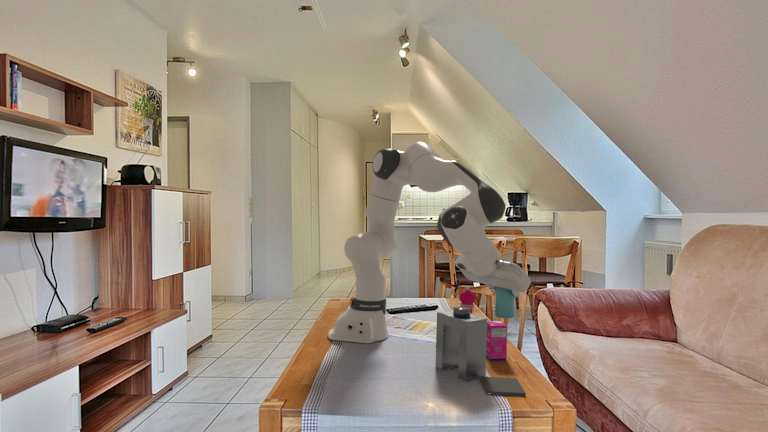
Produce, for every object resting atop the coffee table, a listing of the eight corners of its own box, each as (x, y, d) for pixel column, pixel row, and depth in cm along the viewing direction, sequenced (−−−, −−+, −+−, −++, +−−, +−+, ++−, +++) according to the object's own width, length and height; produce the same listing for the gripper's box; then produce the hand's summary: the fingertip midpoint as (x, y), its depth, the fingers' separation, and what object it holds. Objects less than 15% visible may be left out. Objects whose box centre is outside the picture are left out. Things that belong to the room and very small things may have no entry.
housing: (465, 381, 124) (467, 315, 123) (435, 367, 135) (437, 305, 134) (485, 376, 129) (487, 311, 128) (454, 362, 139) (456, 302, 139)
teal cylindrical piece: (497, 318, 118) (498, 271, 118) (493, 313, 123) (494, 269, 123) (515, 318, 118) (517, 272, 117) (511, 314, 123) (512, 269, 122)
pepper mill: (474, 337, 166) (476, 284, 166) (477, 343, 159) (478, 288, 158) (455, 336, 167) (457, 284, 166) (456, 342, 160) (458, 287, 159)
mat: (487, 394, 116) (487, 391, 116) (480, 379, 126) (480, 376, 126) (525, 395, 116) (525, 392, 116) (516, 380, 126) (516, 378, 126)
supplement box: (483, 354, 147) (484, 320, 147) (500, 354, 148) (502, 320, 148) (489, 360, 142) (490, 325, 141) (507, 360, 142) (508, 325, 142)
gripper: (521, 254, 107) (544, 290, 113) (462, 246, 124) (485, 278, 130) (509, 273, 105) (533, 309, 111) (450, 263, 122) (473, 294, 128)
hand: (506, 292), depth 121 cm, fingers closed on teal cylindrical piece, 5 cm apart
